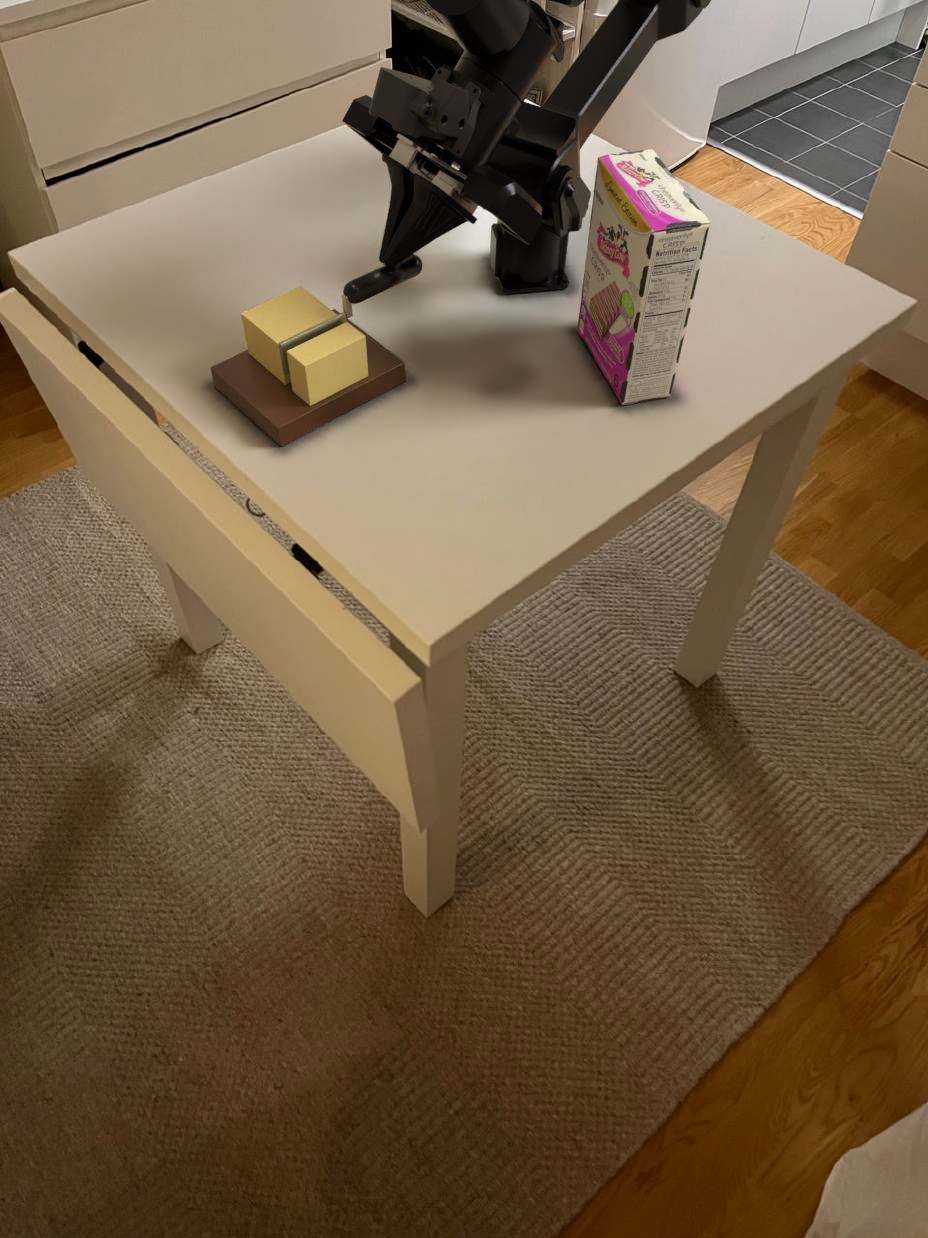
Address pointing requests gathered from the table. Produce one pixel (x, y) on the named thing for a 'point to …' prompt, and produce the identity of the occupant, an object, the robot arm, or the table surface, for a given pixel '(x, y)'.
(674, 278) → the candy bar box
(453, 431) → the table surface
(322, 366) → the butter
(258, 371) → the board
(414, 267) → the knife
